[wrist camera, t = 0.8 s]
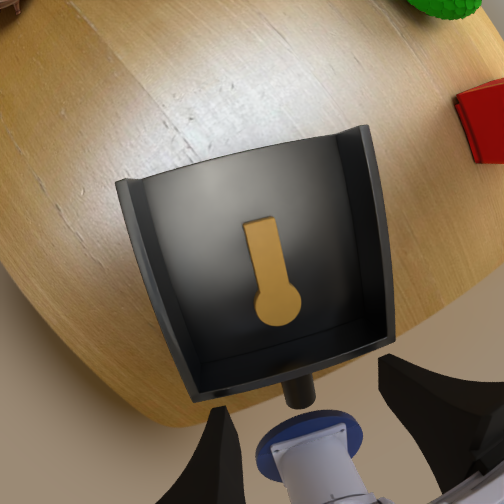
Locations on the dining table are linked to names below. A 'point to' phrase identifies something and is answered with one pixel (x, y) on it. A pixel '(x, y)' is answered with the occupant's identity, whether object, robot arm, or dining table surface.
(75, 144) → the dining table surface
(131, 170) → the dining table surface
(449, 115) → the dining table surface
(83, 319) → the dining table surface
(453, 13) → the ornament
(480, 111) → the french fries container
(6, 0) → the alarm clock
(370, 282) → the grey sheet metal tray
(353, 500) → the robot arm
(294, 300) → the spoon
